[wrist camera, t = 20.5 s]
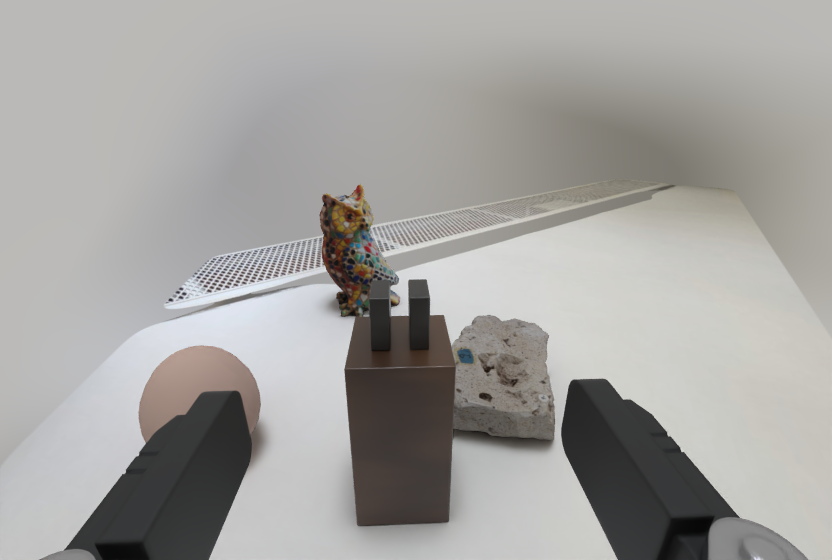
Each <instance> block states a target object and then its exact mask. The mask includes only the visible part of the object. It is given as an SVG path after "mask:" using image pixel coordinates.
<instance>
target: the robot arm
mask: <svg viewBox="0 0 832 560" xmlns="http://www.w3.org/2000/svg"><path fill="white" fill-rule="evenodd" d="M561 436H562V443H563V447H564V451H565V454H566V456H567V458H568V460H569V462H570V464H571V466H572V468H573V470H574V472H575V474H576V476H577V478H578V480H579V482H580V484H581V486H582V488H583V490H584V492H585V494H586V496H587V498H588V500H589V502H590V504H591V506H592V508H593V510H594V512H595V514H596V516H597V518H598V520H599V522H600V524H601V526H602V528H603V530H604V532H605V534H606V537H607V539H608V541H609V543H610V545H611V547H612V549H613V551H614V553H615V555H616V557H617V559H618V560H808V559H807V558H806V557H805V556H804V554H802V553H801V552H800V551H799V550H798V549H797V548H796V547H795V546H794V545H792V544H791V543H790V542H789V541H787V540H786V539H785V538H783V537H782V536H780V535H779V534H777V533H775V532H774V531H772V530H770V529H769V528H766V527H764V526H762V525H760V524H758V523H755V522H752V521H749V520H746V519H742V518H740V517H739V516H738V515H737V514H736V513H735V512H734V511H733V509H732V508H731V507H730V506H729V505H728V504H727V502H726V501H725V500H724V499H723V498H722V497H721V495H720V494H719V493H718V492H717V491H716V489H715V488H714V487H713V486H712V485H711V484H710V482H709V481H708V480H707V479H706V478H705V477H704V475H703V474H702V473H701V472H700V471H699V469H698V468H697V467H696V466H695V465H694V464H693V462H692V461H691V460H690V459H689V458H688V457H687V455H686V454H685V453H684V452H681V450H680V447H679V446H678V445H677V444H676V442H675V441H674V440H673V439H672V438H671V437H670V436H669V437H668V435H667V432H666V431H665V429H664V428H663V427H662V426H661V425H660V424H659V422H658V421H657V420H656V419H655V418H654V417H653V415H652V414H650V413H649V412H647V411H646V410H645V409H643V408H642V407H640V406H639V405H637V404H636V403H635V402H633V401H632V400H623V399H622V398H621V397H620V395H619V394H618V393H617V392H616V390H615V389H614V388H613V386H612V385H611V384H610V383H609V382H608V381H607V380H606V379H580V380H572V381H571V382H570V385H569V388H568V394H567V400H566V405H565V411H564V417H563V422H562V429H561ZM251 448H252V443H251V436H250V432H249V427H248V423H247V419H246V414H245V410H244V405H243V401H242V397H241V394H240V393H239V392H238V391H236V390H234V391H206V392H202V393H201V394H200V395H199V396H198V398H197V399H196V400H195V402H194V403H193V405H192V406H191V407H190V409H189V410H188V412H187V413H186V414H185V415H176V416H175V417H174V418H173V419H171V420H170V421H169V422H167V423H166V424H165V425H164V426H162V427H161V428H160V429H158V430H157V431H156V432H155V433H154V434H153V435H152V437H151V438H150V439H149V441H148V442H147V443H146V444H145V446H144V447H143V448H142V450H141V451H140V452H139V456H138V457H135V459H134V460H133V461H132V463H131V464H130V465H129V467H128V468H127V469H126V473H125V474H122V476H121V477H120V478H119V480H118V481H117V482H116V484H115V485H114V486H113V488H112V489H111V490H110V491H109V493H108V494H107V495H106V497H105V498H104V499H103V501H102V502H101V503H100V505H99V506H98V507H97V508H96V510H95V511H94V512H93V514H92V515H91V516H90V518H89V519H88V520H87V521H86V523H85V524H84V525H83V527H82V528H81V529H80V531H79V532H78V533H77V535H76V536H75V537H74V538H73V540H72V541H71V542H70V544H69V545H68V546H67V547H66V549H65V550H64V551H60V552H57V553H54V554H51V555H49V556H46V557H44V558H42V559H40V560H209V557H210V555H211V553H212V550H213V548H214V546H215V543H216V541H217V539H218V536H219V534H220V532H221V529H222V527H223V524H224V522H225V520H226V517H227V515H228V513H229V510H230V508H231V506H232V503H233V501H234V499H235V496H236V494H237V492H238V489H239V487H240V485H241V482H242V480H243V477H244V475H245V473H246V470H247V468H248V465H249V462H250V457H251Z"/></svg>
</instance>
